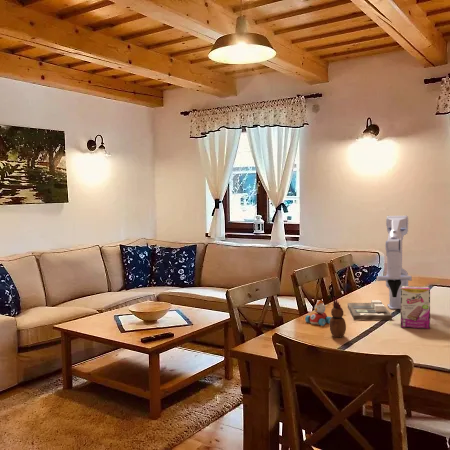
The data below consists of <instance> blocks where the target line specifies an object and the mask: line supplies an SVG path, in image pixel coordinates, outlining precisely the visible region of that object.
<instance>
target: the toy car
mask: <svg viewBox="0 0 450 450" xmlns="http://www.w3.org/2000/svg"><path fill="white" fill-rule="evenodd" d="M313 308H314V309H313V310H314V311H315V313H312V314H311V315H305V318H304V320H305V323H310V324H311V325H315V326H316V325H317V326H318V325H319V326H322V327H323V326H325V325H326V324H328V325H330V319H331V317H332V316H328V315H327V313H326V312H325V311H326V306H325V304H324V302H323V301H322V300H321V299H319V301H318V302H317V303H316V304H315V305H314V307H313Z"/></svg>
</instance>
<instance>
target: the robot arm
mask: <svg viewBox="0 0 450 450" xmlns="http://www.w3.org/2000/svg"><path fill="white" fill-rule="evenodd" d="M385 220H386V221H385V224H386V225H385V226H386V231H387V235H388V236H387V240H385V245H384V246H385V254H386V274H385V275H377V276H376V281H377V282H382V281H383V282H384V281H385V286H386V287H387V288H388V291H389V292H388V296H389V297H388V301H389V303H388V304H387V307H388V308H389V309H390V310H401V286H409V282H411V281H413V279H412V278H413V277H412V275H409V274H408V271H407V270H405V269H404V268H403V240H404V238H405V237H404V236H406V235H408V232H409V216H408V215H387V216H386V219H385Z"/></svg>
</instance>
